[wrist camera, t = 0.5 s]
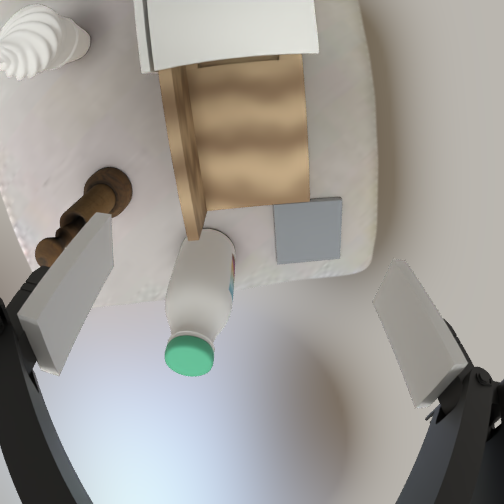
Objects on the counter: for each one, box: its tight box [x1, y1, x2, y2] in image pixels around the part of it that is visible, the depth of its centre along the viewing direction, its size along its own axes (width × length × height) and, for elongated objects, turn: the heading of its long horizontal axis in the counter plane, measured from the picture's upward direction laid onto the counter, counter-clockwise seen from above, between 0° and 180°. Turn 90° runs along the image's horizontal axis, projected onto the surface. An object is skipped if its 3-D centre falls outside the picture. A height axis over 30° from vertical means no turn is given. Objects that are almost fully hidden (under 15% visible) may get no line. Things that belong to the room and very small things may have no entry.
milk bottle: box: [165, 229, 235, 376], centre depth 36 cm, size 8×8×20 cm
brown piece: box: [158, 54, 310, 241], centre depth 29 cm, size 28×14×10 cm, turn 5°
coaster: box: [273, 197, 342, 264], centre depth 43 cm, size 9×9×1 cm
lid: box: [134, 0, 319, 74], centre depth 22 cm, size 9×15×11 cm, turn 95°
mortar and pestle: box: [35, 167, 132, 267], centre depth 32 cm, size 7×6×18 cm
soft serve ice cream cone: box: [0, 4, 90, 81], centre depth 22 cm, size 8×8×16 cm
